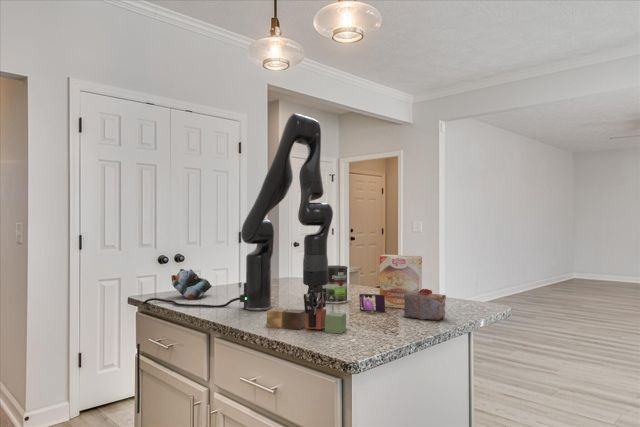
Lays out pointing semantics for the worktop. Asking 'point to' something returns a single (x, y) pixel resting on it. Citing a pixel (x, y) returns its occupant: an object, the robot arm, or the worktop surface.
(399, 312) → the worktop surface
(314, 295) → the robot arm
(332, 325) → the sage block
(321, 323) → the terracotta red block
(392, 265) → the coffeecake box
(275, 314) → the maple block
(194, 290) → the blue-grey lumpy piece
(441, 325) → the worktop surface
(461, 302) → the worktop surface
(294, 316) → the walnut block
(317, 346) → the worktop surface
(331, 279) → the coffee can
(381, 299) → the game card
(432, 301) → the food item
